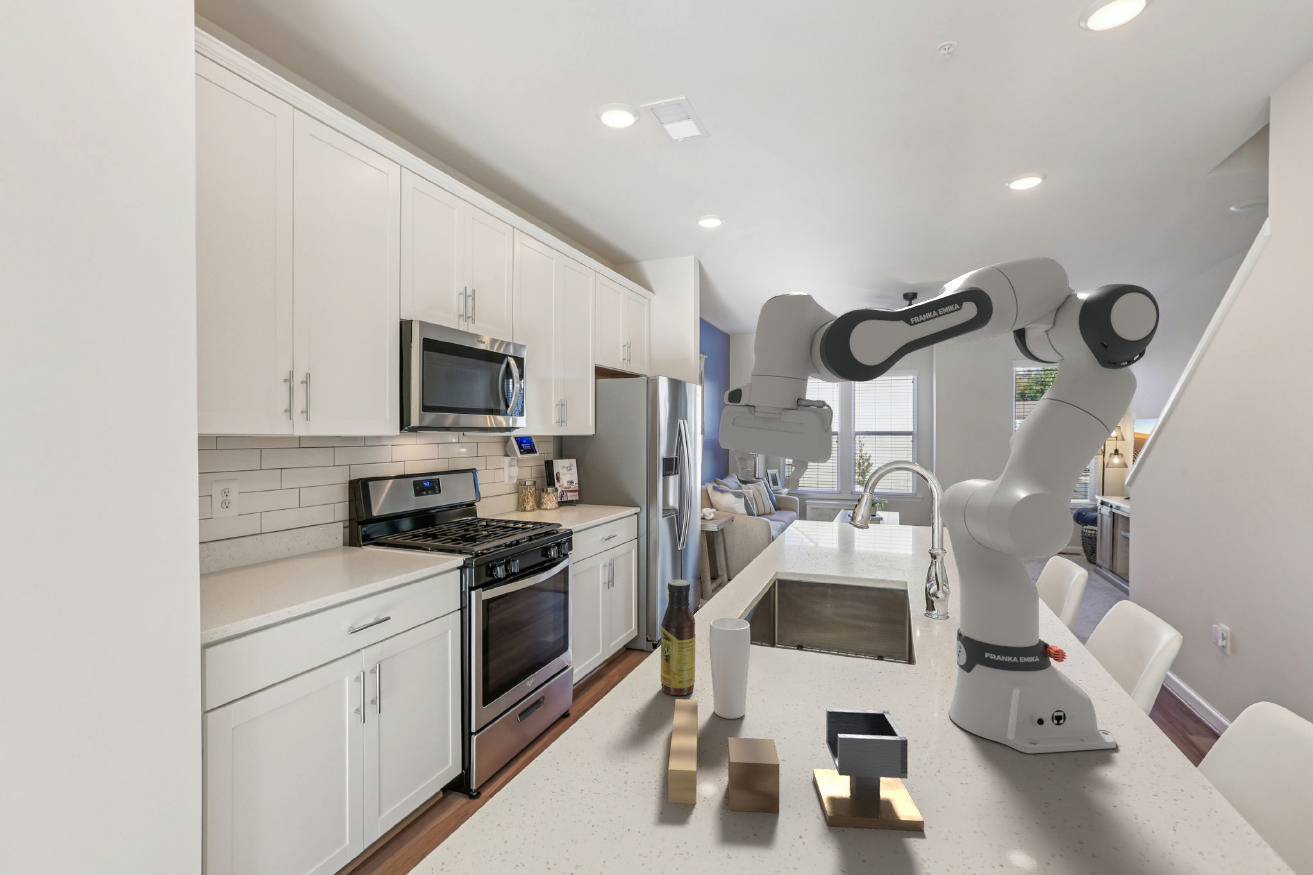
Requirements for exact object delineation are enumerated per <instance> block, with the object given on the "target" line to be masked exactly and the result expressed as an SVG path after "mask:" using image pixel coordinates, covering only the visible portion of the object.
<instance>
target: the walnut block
mask: <svg viewBox="0 0 1313 875" xmlns="http://www.w3.org/2000/svg"><path fill="white" fill-rule="evenodd" d="M727 738H728V740H727V742H728V744H727V745H728V748H727V751H728V752H727V753H728V755H727V759H728V762H727V763H728V766H727V768H728V770H727V776H728V778H727V779H728V780H727V781H728V782H727V783H728V784H727V785H728V796H729V797H728V799H729V811H738V812H739V811H740V812H755V813H756V812H757V813H758V812H759V813H773V814H774V813H776V814H778V813H780V760H779V756H778V752H777V748H776V743H775V739H774V738H754V737H751V738H750V737H733V736H731V737H729V736H728V737H727Z"/></svg>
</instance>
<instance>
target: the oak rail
mask: <svg viewBox="0 0 1313 875" xmlns="http://www.w3.org/2000/svg"><path fill="white" fill-rule="evenodd" d="M674 702H675V704H674V712H673V713H674V714H673V723H672V731H671V732H672V733H671V741H670V751H669V752H670V753H669V761H668V770H667V771H668V773H667V774H668V775H667V777H668V781H667V782H668V788H667V789H668V792H667V794H668V795H667V796H668V801H667V803H671V804H687V805H688V804H690V805H691V804H692V805H693V804H694V805H695V804H697V783H698V782H697V781H698V780H697V777H698V776H697V773H698V768H697V767H698V730H699V729H698V728H699V727H698V725H699V724H698V720H699V719H698V718H699V717H698V716H699V715H698V714H699V713H698V708H699V707H698V706H699V705H698V703H699V702H698V699H683V698H682V699H681V698H680V699H679V698H675V701H674Z"/></svg>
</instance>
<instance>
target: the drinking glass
mask: <svg viewBox="0 0 1313 875" xmlns="http://www.w3.org/2000/svg"><path fill="white" fill-rule="evenodd" d="M750 626H751V624H750V623H749V622H748V621H747V620H745V619H741V618H737V617H736V618H735V617H718V618H715V619H712V620H710V622H709V640H708V642H709V645H708V646H709V656H710V657H709V658H710V670H711V681H712V682H711V683H712V696H713V711H714V713H715V714H716V715H717V716H718V717H720V718H723V719H726V720H727V719H728V720H736V719H740V718H742V717H743V716H744V715H745V714H746V712H747V710H746V708H747V704H746V702H747V689H748V679H749V666H750V656H751V654H750V653H751V627H750Z"/></svg>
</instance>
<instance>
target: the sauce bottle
mask: <svg viewBox="0 0 1313 875" xmlns="http://www.w3.org/2000/svg"><path fill="white" fill-rule="evenodd" d="M667 591H668V595H667V596H668V602H667V608H666V610H665V613H664V616H663V619H662V621H661V625H660V626H661V627H660V682H661V690H662V691H663V692H665V693H666V694H668V695H669V696H685V695H689V694H692V692H693V691H694V689H695V688H694V687H695V682H696V679H695V678H696V674H695V673H696V633H695V632H696V619H695V616H694V614H693V612H692V611H691V609H690V591H691V582H689V581H688V580H686V579H672V580H669V581H668V583H667Z"/></svg>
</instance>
